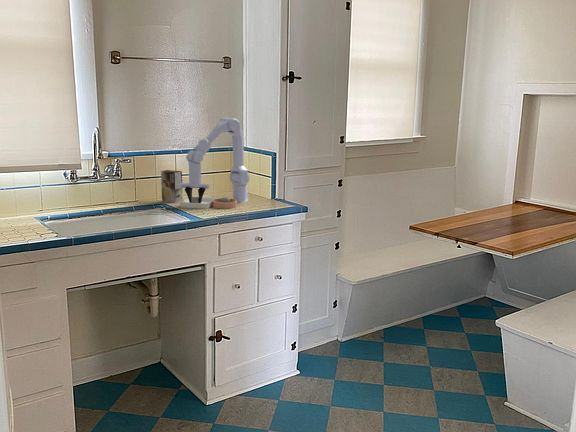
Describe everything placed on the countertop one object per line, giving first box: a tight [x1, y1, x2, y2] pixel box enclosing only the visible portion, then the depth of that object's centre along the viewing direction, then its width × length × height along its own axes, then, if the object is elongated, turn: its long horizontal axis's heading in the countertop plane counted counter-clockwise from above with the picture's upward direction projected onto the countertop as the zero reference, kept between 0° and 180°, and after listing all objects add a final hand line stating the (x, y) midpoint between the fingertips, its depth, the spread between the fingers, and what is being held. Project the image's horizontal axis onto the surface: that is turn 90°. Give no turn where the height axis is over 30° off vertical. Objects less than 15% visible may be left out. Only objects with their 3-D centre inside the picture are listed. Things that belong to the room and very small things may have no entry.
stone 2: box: [221, 197, 231, 203], centre depth 306 cm, size 4×4×4 cm
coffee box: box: [160, 169, 184, 203], centre depth 314 cm, size 9×6×16 cm
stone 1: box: [191, 197, 199, 203], centre depth 303 cm, size 4×4×4 cm
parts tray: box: [179, 195, 219, 210], centre depth 307 cm, size 18×14×3 cm
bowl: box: [211, 197, 238, 210], centre depth 304 cm, size 12×12×4 cm
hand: (195, 202), depth 303 cm, fingers closed on stone 1, 4 cm apart
